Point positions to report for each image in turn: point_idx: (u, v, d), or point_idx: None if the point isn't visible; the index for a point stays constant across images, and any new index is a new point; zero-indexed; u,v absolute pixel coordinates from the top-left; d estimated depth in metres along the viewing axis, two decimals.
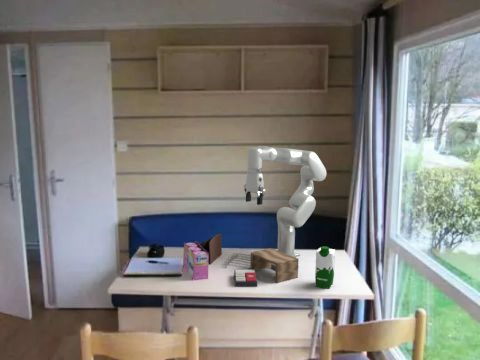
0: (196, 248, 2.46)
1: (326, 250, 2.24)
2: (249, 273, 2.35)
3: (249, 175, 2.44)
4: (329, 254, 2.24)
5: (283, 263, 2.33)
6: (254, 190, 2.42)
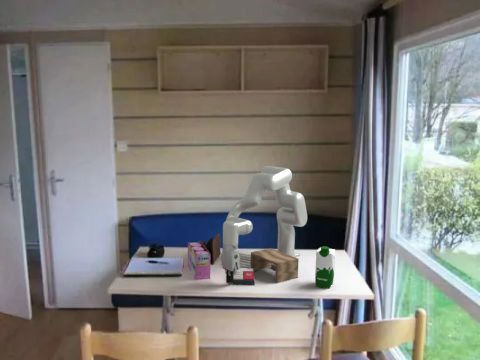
0: (199, 248, 2.46)
1: (326, 250, 2.24)
2: (247, 271, 2.37)
3: (224, 251, 2.26)
4: (329, 254, 2.24)
5: (283, 263, 2.33)
6: (229, 268, 2.24)
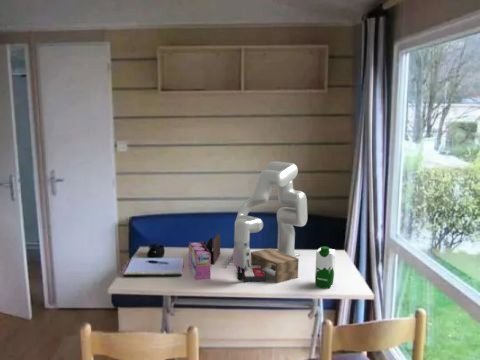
0: (200, 248, 2.46)
1: (326, 250, 2.24)
2: (256, 268, 2.42)
3: (236, 248, 2.30)
4: (329, 254, 2.24)
5: (283, 263, 2.33)
6: (241, 265, 2.28)
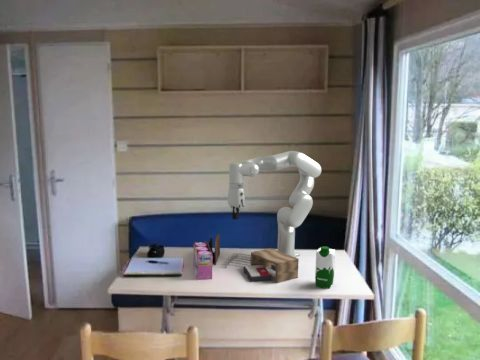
0: (203, 248, 2.46)
1: (326, 250, 2.24)
2: (260, 268, 2.43)
3: (231, 190, 2.48)
4: (329, 254, 2.24)
5: (283, 263, 2.33)
6: (235, 204, 2.46)
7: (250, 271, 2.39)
